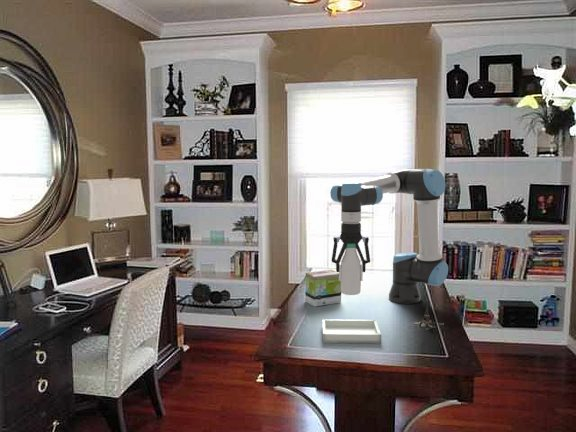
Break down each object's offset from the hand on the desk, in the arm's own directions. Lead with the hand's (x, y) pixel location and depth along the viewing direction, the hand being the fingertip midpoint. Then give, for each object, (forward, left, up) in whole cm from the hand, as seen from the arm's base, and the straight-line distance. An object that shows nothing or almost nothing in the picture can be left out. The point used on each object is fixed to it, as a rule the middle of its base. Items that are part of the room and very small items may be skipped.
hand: (350, 279), depth 187 cm
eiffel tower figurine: (-33, -11, -23) cm, 42 cm away
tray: (0, 0, -23) cm, 23 cm away
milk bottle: (0, 0, -5) cm, 5 cm away
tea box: (+10, -42, -23) cm, 49 cm away
